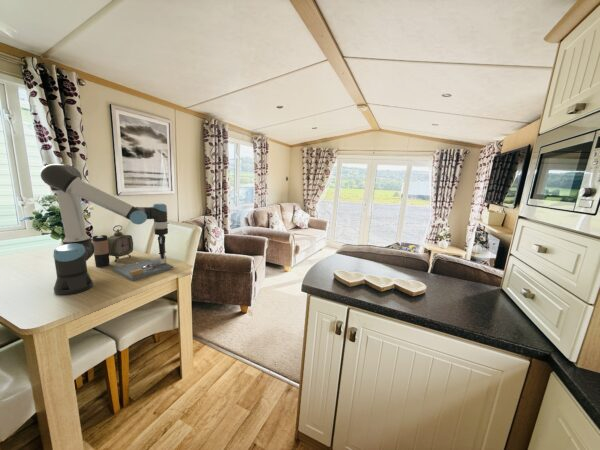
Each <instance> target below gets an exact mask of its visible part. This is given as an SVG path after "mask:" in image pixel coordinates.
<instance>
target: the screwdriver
mask: <svg viewBox="0 0 600 450" xmlns="http://www.w3.org/2000/svg"><path fill="white" fill-rule="evenodd" d="M149 269H153V267H151V268H148V269H144V270H143V269H141V268H140V269H136V270H132V271H129V273H130V276H135V275H139V274H142V273H143V271H146V270H149Z"/></svg>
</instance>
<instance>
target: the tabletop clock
mask: <svg viewBox="0 0 600 450" xmlns="http://www.w3.org/2000/svg"><path fill="white" fill-rule="evenodd" d="M116 227H121V228H120V229H116V230H115V228H116ZM112 230H113V232H114V233H113V235H110V236H107V239H108V248H109V257H111V256H112V257H115V260H114V262H115V263H117V262H118V259H119V260H120V257H124V256H128V257H129V258H131V257H132V255H131V254H132V253H133V251H134V241H133V240H134V239H133V236H132V235H129V234H123V232H122V230H123V226H122V225H120V224H119V225H115V226H114V227H112Z"/></svg>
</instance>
